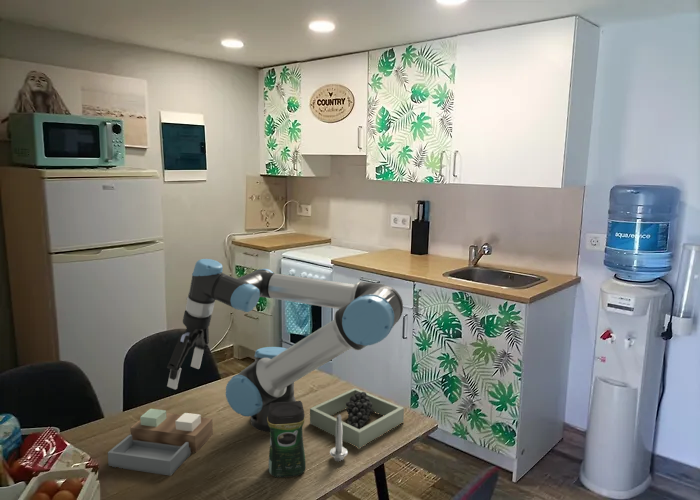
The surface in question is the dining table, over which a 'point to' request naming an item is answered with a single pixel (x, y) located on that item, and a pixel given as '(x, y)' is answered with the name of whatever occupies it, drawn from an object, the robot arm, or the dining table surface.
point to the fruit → (359, 410)
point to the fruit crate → (350, 434)
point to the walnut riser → (173, 433)
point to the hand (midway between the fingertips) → (184, 377)
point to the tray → (148, 456)
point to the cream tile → (188, 422)
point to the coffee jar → (286, 439)
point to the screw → (338, 442)
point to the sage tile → (153, 417)
